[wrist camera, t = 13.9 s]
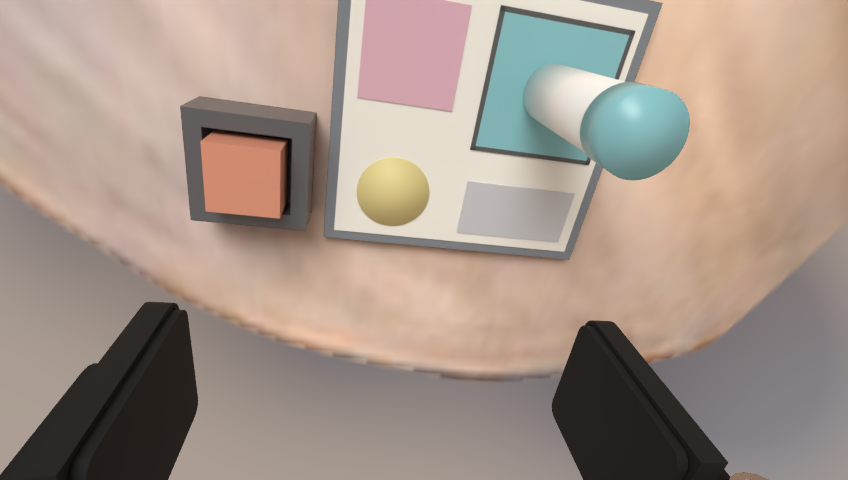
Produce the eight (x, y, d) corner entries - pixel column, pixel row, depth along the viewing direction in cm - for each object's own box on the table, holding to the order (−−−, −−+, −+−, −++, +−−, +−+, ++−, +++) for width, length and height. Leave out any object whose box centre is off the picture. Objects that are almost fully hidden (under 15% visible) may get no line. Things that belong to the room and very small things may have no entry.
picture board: (655, 3, 27) (664, 3, 26) (565, 254, 35) (570, 261, 34) (343, -61, 24) (342, -64, 23) (324, 231, 32) (323, 238, 31)
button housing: (316, 112, 28) (310, 123, 25) (311, 211, 31) (305, 230, 28) (199, 96, 27) (180, 106, 24) (207, 201, 30) (190, 220, 27)
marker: (587, 66, 27) (705, 95, 17) (569, 127, 29) (667, 184, 19) (529, 57, 27) (618, 82, 17) (515, 120, 28) (587, 175, 19)
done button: (287, 139, 26) (280, 151, 24) (286, 202, 28) (279, 218, 26) (214, 130, 26) (200, 141, 24) (218, 195, 28) (205, 211, 25)
